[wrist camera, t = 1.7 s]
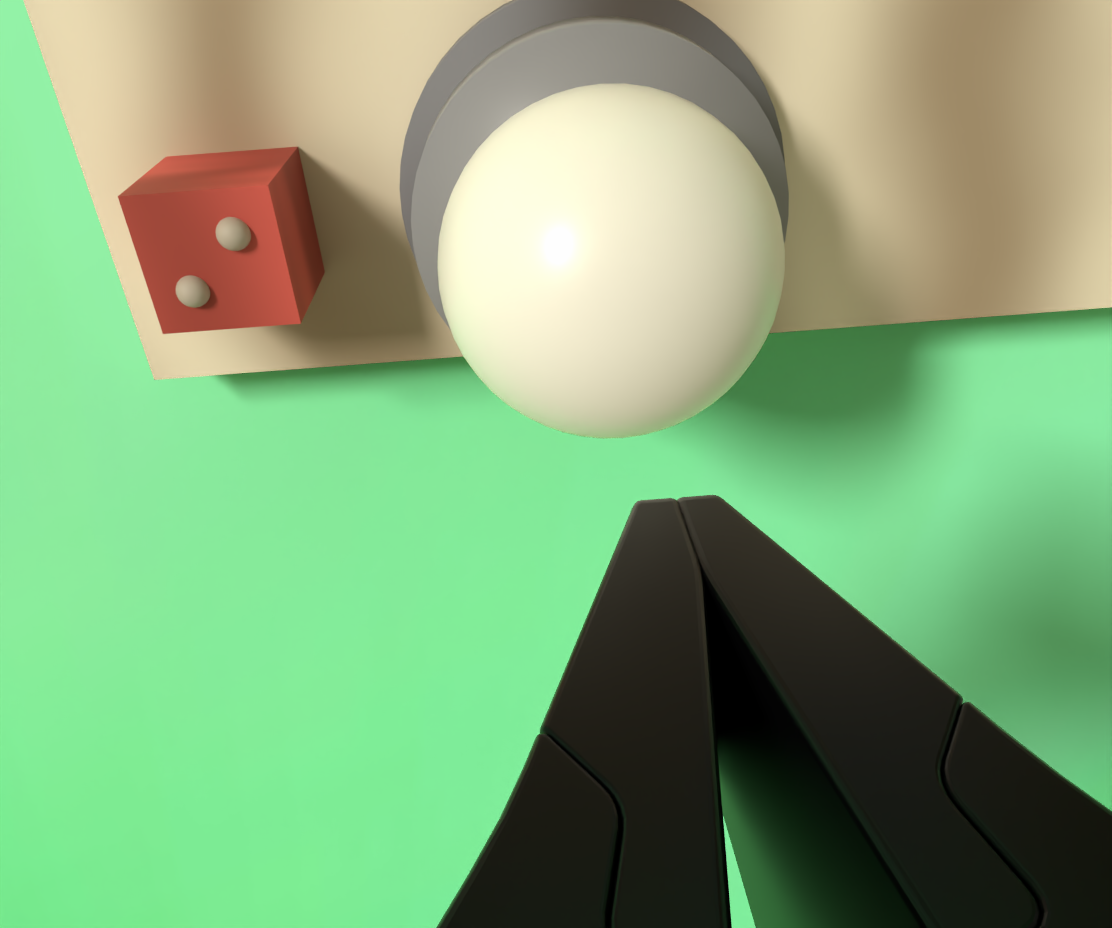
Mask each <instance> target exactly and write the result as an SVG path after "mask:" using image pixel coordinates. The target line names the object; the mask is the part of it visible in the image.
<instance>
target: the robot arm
mask: <svg viewBox="0 0 1112 928" xmlns="http://www.w3.org/2000/svg"><path fill="white" fill-rule="evenodd" d="M962 702H963V698H962V696H961V695H960V694H959V693H958V692H956V691H955V690H954V689H953V688H952V687H950V686H949V685H948V684H947V683H945V682H944V681H943V680H942V679H941V678H939V677H938V676H937V675H936V674H935V673H933V672H932V671H931V670H930V669H928V668H927V667H926V666H925V665H924V664H922V663H921V662H920V661H919V660H918V659H916V658H915V657H914V656H913V655H911V654H910V653H909V652H908V651H907V650H905V649H904V648H903V647H902V646H901V645H899V644H898V643H897V642H896V641H894V640H893V639H892V638H891V637H890V636H888V635H887V634H886V633H885V632H884V631H882V630H881V629H880V628H879V627H877V626H876V625H875V624H874V623H873V622H871V621H870V620H869V619H868V618H867V617H865V616H864V615H863V614H862V613H860V612H859V611H858V610H857V609H856V608H854V607H853V606H852V605H851V604H850V603H848V602H847V601H846V600H845V599H843V598H842V597H841V596H840V595H839V594H837V593H836V592H835V591H834V590H833V589H831V588H830V587H829V586H828V585H826V584H825V583H824V582H823V581H822V580H820V579H819V578H818V577H817V576H816V575H814V574H813V573H812V572H811V571H810V570H808V569H807V568H806V567H805V566H803V565H802V564H801V563H800V562H799V561H797V560H796V559H795V558H794V557H793V556H791V555H790V554H789V553H788V552H786V551H785V550H784V549H783V548H782V547H780V546H779V545H778V544H777V543H776V542H774V541H773V540H772V539H771V538H769V537H768V536H767V535H766V534H765V533H763V532H762V531H761V530H760V529H759V528H757V527H756V526H755V525H754V524H752V523H751V522H750V521H749V520H748V519H746V518H745V517H744V516H743V515H742V514H740V513H739V512H738V511H737V510H735V509H734V508H733V507H732V506H731V505H729V504H728V503H727V502H726V501H725V500H723V499H722V498H721V497H719V496H716V495H707V496H694V497H682V498H679V499H678V500H675V499H672V498H667V499H654V500H641V501H638V502H636V503H635V505H634V506H633V508H632V510H631V513H630V515H629V517H628V520H627V522H626V525H625V527H624V529H623V532H622V534H621V537H620V539H619V541H618V544H617V546H616V549H615V551H614V553H613V556H612V558H611V561H610V563H609V565H608V568H607V570H606V573H605V575H604V577H603V580H602V582H601V584H600V587H599V589H598V592H597V594H596V596H595V599H594V601H593V604H592V606H591V608H590V611H589V613H588V616H587V618H586V620H585V623H584V625H583V628H582V630H581V632H580V635H579V637H578V639H577V642H576V644H575V647H574V649H573V651H572V654H571V656H570V659H569V661H568V663H567V666H566V668H565V671H564V673H563V675H562V678H561V680H560V683H559V685H558V687H557V690H556V692H555V694H554V697H553V699H552V702H551V704H550V706H549V709H548V711H547V714H546V716H545V718H544V721H543V723H542V726H541V728H540V734H539V735H537V737H536V739H535V741H534V743H533V746H532V748H531V751H530V753H529V755H528V758H527V760H526V763H525V765H524V767H523V770H522V772H521V774H520V776H519V778H518V780H517V782H516V785H515V787H514V789H513V791H512V793H511V795H510V797H509V800H508V802H507V804H506V806H505V808H504V810H503V812H502V815H501V817H500V819H499V821H498V822H497V824H496V826H495V828H494V830H493V831H492V833H491V835H490V837H489V839H488V840H487V842H486V844H485V846H484V848H483V849H482V851H481V853H480V855H479V857H478V858H477V860H476V862H475V864H474V865H473V867H472V869H471V871H470V873H469V874H468V876H467V878H466V879H465V881H464V883H463V884H462V886H461V888H460V889H459V891H458V893H457V894H456V896H455V898H454V899H453V901H452V903H451V904H450V906H449V908H448V909H447V911H446V913H445V914H444V916H443V918H442V919H441V921H440V923H439V924H438V926H437V928H732V927H731V914H730V901H729V888H728V876H727V863H726V850H725V837H724V824H723V816H724V819H725V823H726V826H727V830H728V833H729V837H730V840H731V844H732V847H733V850H734V854H735V857H736V861H737V864H738V868H739V871H740V875H741V878H742V882H743V885H744V888H745V892H746V895H747V899H748V902H749V906H750V909H751V913H752V916H753V919H754V923H755V926H756V928H1112V811H1111V810H1109V809H1108V808H1106V807H1105V806H1104V805H1102V804H1101V803H1100V802H1098V801H1097V800H1095V799H1094V798H1093V797H1091V796H1090V795H1088V794H1087V793H1086V792H1084V791H1083V790H1081V789H1080V788H1079V787H1077V786H1076V785H1074V784H1073V783H1072V782H1070V781H1069V780H1067V779H1066V778H1065V777H1063V776H1062V775H1060V774H1059V773H1058V772H1057V771H1055V770H1054V769H1053V768H1051V767H1050V766H1049V765H1048V764H1046V763H1045V762H1044V761H1043V760H1041V759H1040V758H1039V757H1037V756H1036V755H1035V754H1034V753H1032V752H1031V751H1030V750H1029V749H1027V748H1026V747H1025V746H1023V745H1022V744H1021V743H1020V742H1018V741H1017V740H1016V739H1014V738H1013V737H1012V736H1011V735H1009V734H1008V733H1007V732H1006V731H1004V730H1003V729H1002V728H1001V727H999V726H998V725H997V724H996V723H995V722H993V721H992V720H991V719H990V718H988V717H987V716H986V715H985V714H984V713H982V712H981V711H980V710H979V709H978V708H976V707H975V706H974V705H973V704H971V703H969V702H965V703H963V704H962Z"/></svg>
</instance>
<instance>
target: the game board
mask: <svg viewBox="0 0 1112 928" xmlns="http://www.w3.org/2000/svg"><path fill="white" fill-rule="evenodd" d="M24 3H25V6H26V9H27V12H28V15H29V18H30V21H31V24H32V27H33V29H34V32H35V35H36V38H37V41H38V44H39V47H40V50H41V53H42V56H43V58H44V61H45V64H46V67H47V70H48V73H49V76H50V79H51V82H52V84H53V87H54V90H55V93H56V96H57V99H58V102H59V105H60V108H61V111H62V113H63V116H64V119H65V122H66V125H67V128H68V131H69V134H70V137H71V140H72V142H73V145H74V148H75V151H76V154H77V157H78V160H79V163H80V166H81V168H82V171H83V174H84V177H85V180H86V183H87V186H88V189H89V192H90V195H91V197H92V200H93V203H94V206H95V209H96V212H97V215H98V218H99V221H100V224H101V226H102V229H103V232H104V235H105V238H106V241H107V244H108V247H109V250H110V252H111V255H112V258H113V261H114V264H115V267H116V270H117V273H118V276H119V279H120V281H121V284H122V287H123V290H124V293H125V296H126V299H127V302H128V305H129V308H130V310H131V313H132V316H133V319H134V322H135V325H136V328H137V331H138V334H139V336H140V339H141V342H142V345H143V348H144V351H145V354H146V357H147V360H148V363H149V365H150V368H151V371H152V374H153V377H154V380H158V379H171V378H184V377H198V376H211V375H224V374H237V373H250V372H264V371H277V370H290V369H303V368H317V367H330V366H343V365H356V364H369V363H383V362H396V361H409V360H422V359H435V358H449V357H462V356H463V355H462V353H461V351H460V349H459V347H458V345H457V343H456V342H455V340H454V338H453V335H452V332H451V330H450V329H449V327H448V326H447V325H446V323H445V322H444V320H443V319H442V318H441V316H440V315H439V313H438V312H437V310H436V308H435V306H434V304H433V303H432V301H431V299H430V297H429V295H428V293H427V291H426V289H425V286H424V283H423V280H422V278H421V275H420V272H419V270H418V266H417V261H416V257H415V252H414V248H413V240H412V229H411V208H412V194H413V189H414V183H415V178H416V172H417V169H418V166H419V163H420V160H421V157H422V154H423V151H424V148H425V145H426V141H427V138H428V135H429V133H430V131H431V128H432V126H433V124H434V122H435V120H436V118H437V116H438V114H439V112H440V110H441V109H442V107H443V106H444V104H445V103H446V101H447V100H448V98H449V97H450V95H451V94H452V92H453V91H454V89H455V88H456V87H457V86H458V85H459V83H460V82H461V81H462V80H463V79H464V78H465V77H466V75H467V74H468V73H469V72H470V71H471V70H472V69H473V68H474V67H475V66H477V65H478V64H479V63H480V62H481V61H482V60H484V59H485V58H486V57H487V56H488V55H489V54H490V53H492V52H493V51H495V50H497V49H498V48H500V47H501V46H503V45H504V44H506V43H507V42H509V41H510V40H512V39H514V38H516V37H518V36H520V35H522V34H525V33H527V32H529V31H531V30H533V29H535V28H538V27H541V26H545V25H548V24H551V23H554V22H558V21H561V20H567V19H573V18H580V17H587V16H617V17H624V18H631V19H638V20H643V21H646V22H649V23H653V24H656V25H659V26H663V27H666V28H668V29H670V30H672V31H674V32H677V33H679V34H681V35H683V36H685V37H687V38H689V39H691V40H692V41H694V42H695V43H697V44H698V45H700V46H701V47H703V48H704V49H706V50H707V51H709V52H710V53H711V54H712V55H713V56H714V57H716V58H717V59H718V60H719V61H720V62H721V63H722V64H723V65H724V66H726V67H727V68H728V69H729V70H730V71H731V72H732V73H733V74H734V75H735V76H736V77H737V78H738V79H740V81H741V82H742V83H743V84H744V85H745V87H746V88H747V89H748V90H749V91H750V93H751V94H752V95H753V96H754V97H755V99H756V100H757V102H758V103H759V105H760V107H761V108H762V110H763V112H764V113H765V115H766V117H767V118H768V120H769V122H770V124H771V126H772V129H773V131H774V133H775V136H776V138H777V140H778V143H779V145H780V149H781V153H782V157H783V160H784V164H785V168H786V175H787V183H788V191H789V217H788V224H787V231H786V238H785V243H784V248H785V273H784V280H783V287H782V293H781V297H780V302H779V305H778V309H777V312H776V316H775V319H774V322H773V325H772V327H771V329H770V332H769V333H779V332H792V331H805V330H818V329H832V328H845V327H858V326H871V325H885V324H898V323H911V322H924V321H937V320H951V319H964V318H977V317H990V316H1003V315H1017V314H1030V313H1043V312H1056V311H1069V310H1083V309H1096V308H1109V307H1112V0H24Z"/></svg>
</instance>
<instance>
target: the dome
mask: <svg viewBox="0 0 1112 928" xmlns="http://www.w3.org/2000/svg"><path fill="white" fill-rule="evenodd" d="M788 217H789V191H788V183H787V175H786V168H785V164H784V160H783V157H782V153H781V149H780V145H779V143H778V140H777V138H776V136H775V133H774V131H773V129H772V126H771V124H770V122H769V120H768V118H767V117H766V115H765V113H764V112H763V110H762V108H761V107H760V105H759V103H758V102H757V100H756V99H755V97H754V96H753V95H752V94H751V93H750V91H749V90H748V89H747V88H746V87H745V85H744V84H743V83H742V82H741V81H740V79H738V78H737V77H736V76H735V75H734V74H733V73H732V72H731V71H730V70H729V69H728V68H727V67H726V66H724V65H723V64H722V63H721V62H720V61H719V60H718V59H717V58H716V57H714V56H713V55H712V54H711V53H710V52H709V51H707V50H706V49H704V48H703V47H701V46H700V45H698V44H697V43H695V42H694V41H692V40H691V39H689V38H687V37H685V36H683V35H681V34H679V33H677V32H674V31H672V30H670V29H668V28H666V27H663V26H659V25H656V24H653V23H649V22H646V21H643V20H638V19H631V18H624V17H617V16H587V17H580V18H573V19H567V20H561V21H558V22H554V23H551V24H548V25H545V26H541V27H538V28H535V29H533V30H531V31H529V32H527V33H525V34H522V35H520V36H518V37H516V38H514V39H512V40H510V41H509V42H507V43H506V44H504V45H503V46H501V47H500V48H498V49H497V50H495V51H493V52H492V53H490V54H489V55H488V56H487V57H486V58H485V59H484V60H482V61H481V62H480V63H479V64H478V65H477V66H475V67H474V68H473V69H472V70H471V71H470V72H469V73H468V74H467V75H466V77H465V78H464V79H463V80H462V81H461V82H460V83H459V85H458V86H457V87H456V88H455V89H454V91H453V92H452V94H451V95H450V97H449V98H448V100H447V101H446V103H445V104H444V106H443V107H442V109H441V110H440V112H439V114H438V116H437V118H436V120H435V122H434V124H433V126H432V128H431V131H430V133H429V135H428V138H427V141H426V145H425V148H424V151H423V154H422V157H421V160H420V163H419V166H418V169H417V172H416V178H415V183H414V189H413V194H412V208H411V229H412V240H413V248H414V252H415V257H416V261H417V266H418V270H419V272H420V275H421V278H422V280H423V283H424V286H425V289H426V291H427V293H428V295H429V297H430V299H431V301H432V303H433V304H434V306H435V308H436V310H437V312H438V313H439V315H440V316H441V318H442V319H443V320H444V322H445V323H446V325H447V326H448V327H449V329H450V330H451V332H452V335H453V338H454V340H455V342H456V343H457V345H458V347H459V349H460V351H461V353H462V355H463V357H464V358H465V359H466V361H467V362H468V364H469V365H470V366H471V368H472V369H473V371H474V372H475V373H476V374H477V376H478V377H479V378H480V379H481V380H482V381H483V382H484V384H485V385H486V386H487V387H488V388H489V389H490V390H491V391H492V392H493V393H494V394H495V395H496V396H498V397H499V398H500V399H501V400H502V401H504V402H505V403H506V404H507V405H509V406H510V407H512V408H513V409H515V410H516V411H518V412H519V413H521V414H523V415H524V416H526V417H528V418H530V419H532V420H534V421H536V422H538V423H540V424H543V425H545V426H547V427H550V428H553V429H556V430H558V431H561V432H564V433H569V434H574V435H578V436H583V437H593V438H625V437H632V436H640V435H644V434H648V433H652V432H656V431H660V430H663V429H666V428H668V427H671V426H674V425H676V424H679V423H681V422H683V421H685V420H687V419H689V418H691V417H693V416H695V415H696V414H698V413H699V412H701V411H702V410H704V409H706V408H707V407H709V406H710V405H712V404H713V403H714V402H715V401H716V400H718V399H719V398H720V397H721V396H723V395H724V394H725V393H726V392H727V391H728V390H729V389H730V388H731V387H732V386H733V385H734V384H735V383H736V382H737V381H738V380H739V379H740V378H741V376H742V375H743V374H744V372H745V371H746V370H747V368H748V367H749V366H750V364H751V363H752V362H753V360H754V359H755V358H756V356H757V354H758V353H759V351H760V349H761V347H762V346H763V344H764V342H765V341H766V339H767V336H768V334H769V332H770V329H771V327H772V325H773V322H774V319H775V316H776V312H777V309H778V305H779V302H780V297H781V293H782V287H783V280H784V273H785V248H784V243H785V238H786V231H787V224H788Z"/></svg>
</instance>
